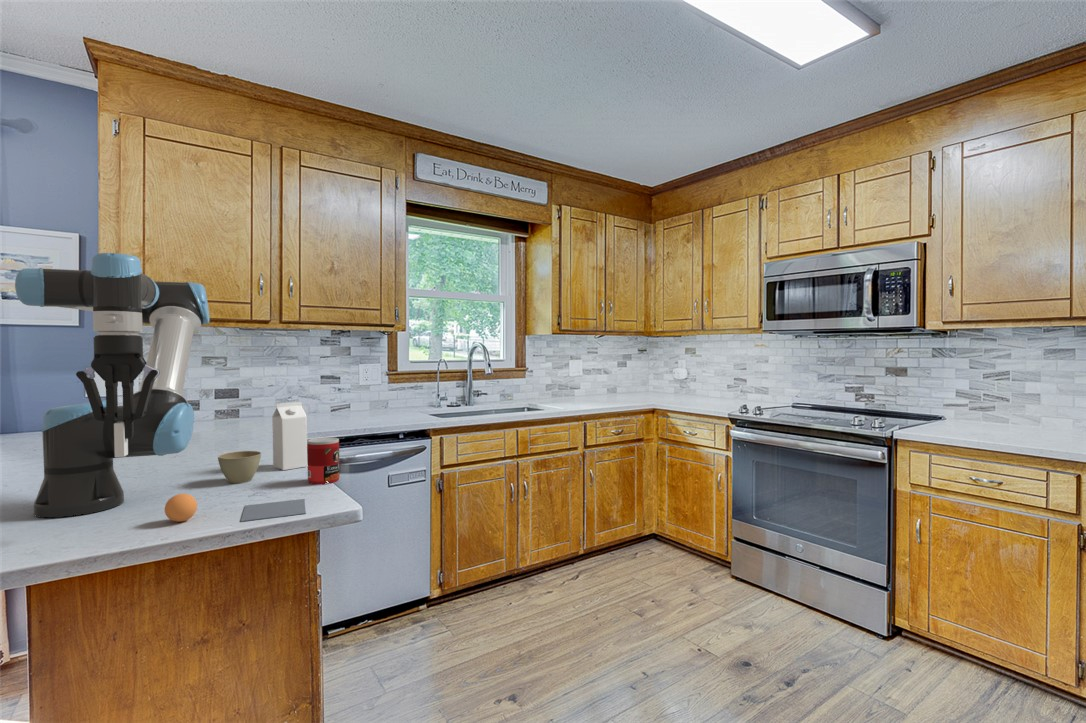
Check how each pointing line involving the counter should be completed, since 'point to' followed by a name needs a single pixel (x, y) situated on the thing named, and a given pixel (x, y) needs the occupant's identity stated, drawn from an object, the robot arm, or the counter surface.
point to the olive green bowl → (239, 465)
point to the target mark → (273, 510)
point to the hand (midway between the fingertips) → (121, 455)
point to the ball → (180, 507)
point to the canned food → (323, 460)
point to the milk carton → (289, 436)
